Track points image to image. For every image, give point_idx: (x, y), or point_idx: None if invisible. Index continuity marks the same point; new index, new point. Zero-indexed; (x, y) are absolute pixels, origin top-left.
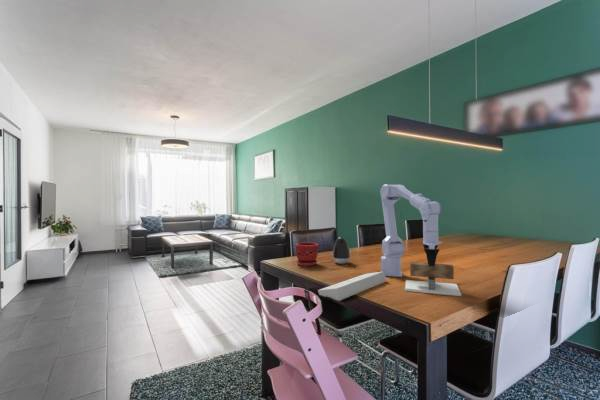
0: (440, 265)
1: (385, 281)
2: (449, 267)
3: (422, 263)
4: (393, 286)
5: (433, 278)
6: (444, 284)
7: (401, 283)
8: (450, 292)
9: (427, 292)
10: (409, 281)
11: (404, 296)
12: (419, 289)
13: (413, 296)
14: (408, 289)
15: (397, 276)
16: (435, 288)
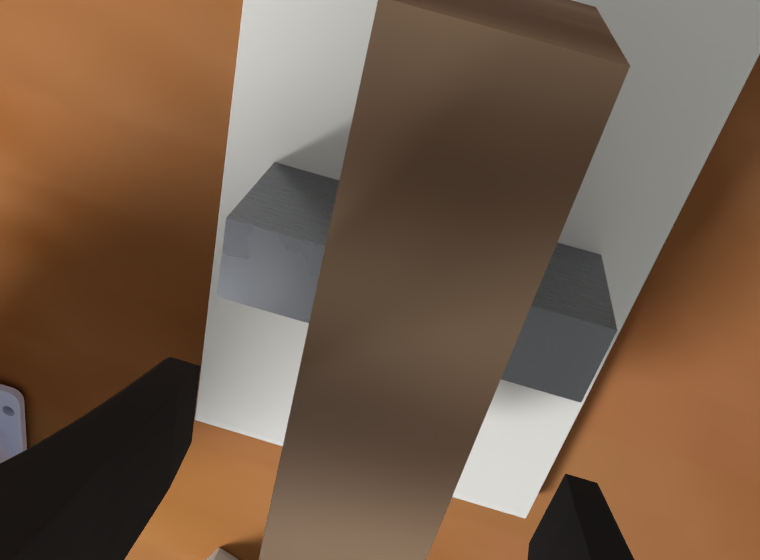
0: (478, 325)
1: (229, 556)
2: (587, 153)
3: (308, 543)
4: None
5: (528, 323)
6: (322, 30)
7: (260, 452)
8: (734, 97)
9: None
10: (251, 406)
11: (699, 550)
12: (569, 412)
13: (710, 486)
14: (536, 490)
15: (24, 426)
16: None
